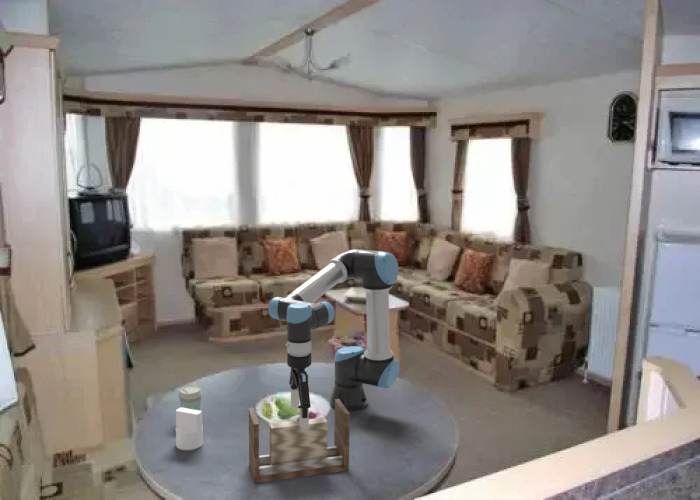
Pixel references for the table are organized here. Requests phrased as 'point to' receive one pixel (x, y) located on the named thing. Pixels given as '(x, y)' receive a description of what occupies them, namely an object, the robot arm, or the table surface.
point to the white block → (189, 429)
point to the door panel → (298, 441)
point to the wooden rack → (332, 463)
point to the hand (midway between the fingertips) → (299, 417)
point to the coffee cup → (190, 397)
